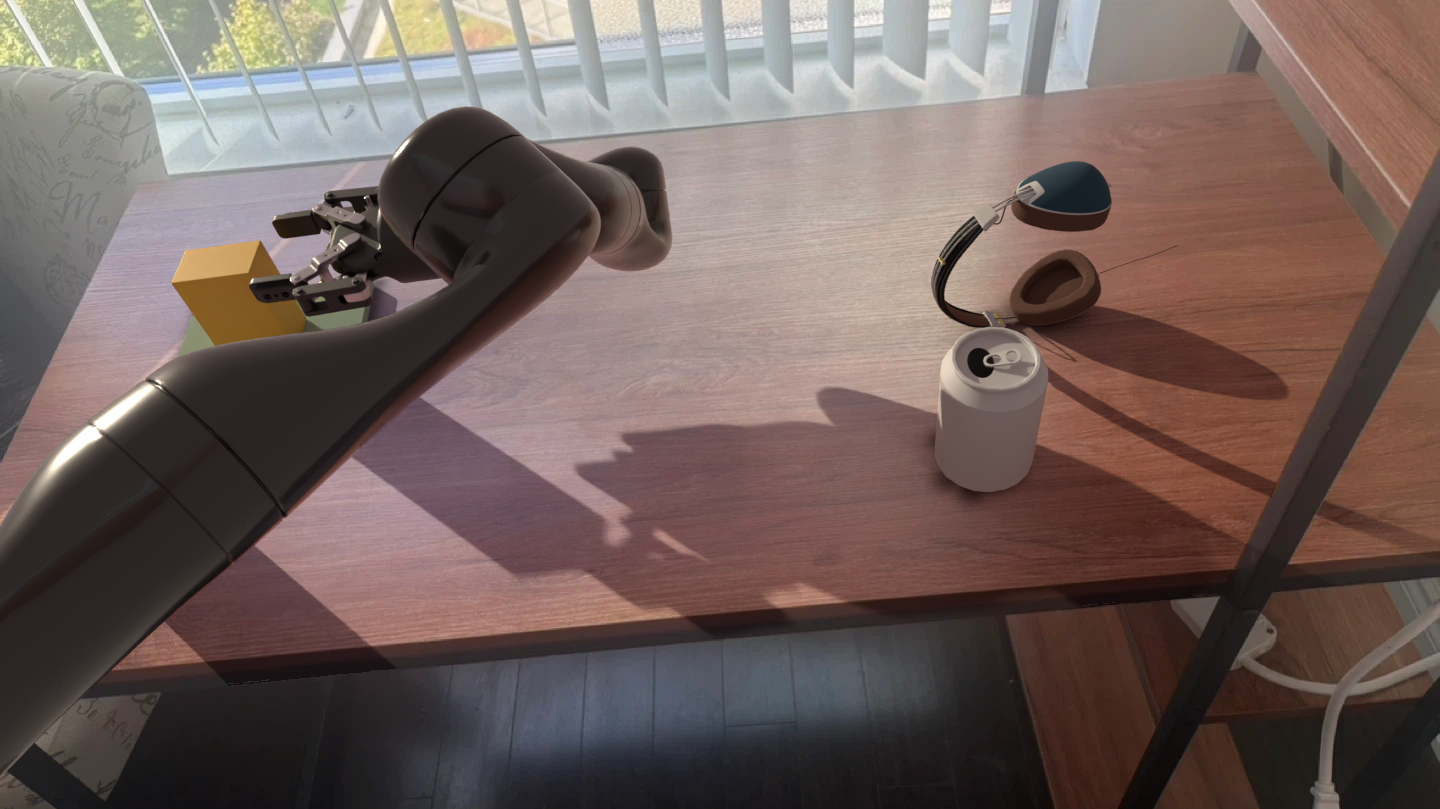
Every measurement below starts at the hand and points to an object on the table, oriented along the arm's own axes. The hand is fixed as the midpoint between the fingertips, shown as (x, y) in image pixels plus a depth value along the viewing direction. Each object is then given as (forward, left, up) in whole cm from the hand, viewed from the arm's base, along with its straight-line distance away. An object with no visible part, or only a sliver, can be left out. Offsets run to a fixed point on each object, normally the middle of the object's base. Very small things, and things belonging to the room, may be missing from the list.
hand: (265, 258), depth 90 cm
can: (+58, -25, -11) cm, 64 cm away
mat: (-4, 0, -11) cm, 11 cm away
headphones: (+68, -10, -11) cm, 70 cm away
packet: (-4, 0, -10) cm, 11 cm away
